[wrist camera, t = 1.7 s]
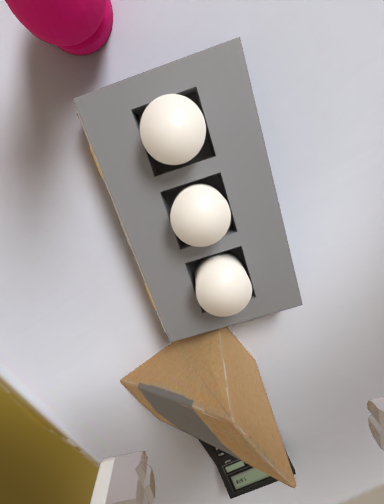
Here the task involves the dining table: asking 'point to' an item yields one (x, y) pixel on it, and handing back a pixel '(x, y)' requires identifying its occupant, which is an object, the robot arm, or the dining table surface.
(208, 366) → the sandwich container
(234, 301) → the button container side
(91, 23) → the pepper mill
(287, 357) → the dining table surface
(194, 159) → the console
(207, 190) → the button middle
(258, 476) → the calculator
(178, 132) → the ball
